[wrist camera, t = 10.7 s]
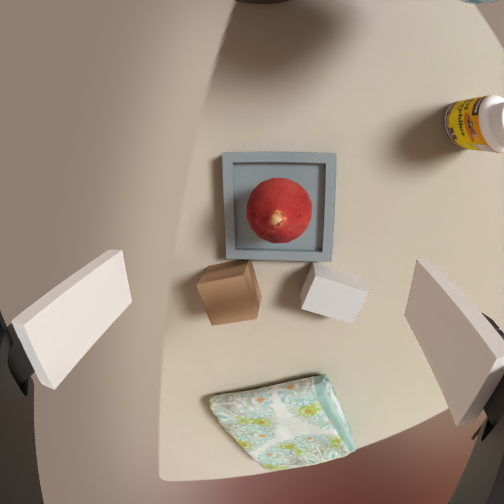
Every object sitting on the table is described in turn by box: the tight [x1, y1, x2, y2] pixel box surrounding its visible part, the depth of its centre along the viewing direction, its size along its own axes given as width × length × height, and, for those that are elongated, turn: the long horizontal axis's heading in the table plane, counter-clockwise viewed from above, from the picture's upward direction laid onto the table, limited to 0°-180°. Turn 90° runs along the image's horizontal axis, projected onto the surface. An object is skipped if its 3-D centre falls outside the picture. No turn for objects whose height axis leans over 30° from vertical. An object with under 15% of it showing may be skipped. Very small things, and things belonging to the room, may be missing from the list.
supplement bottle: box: [445, 95, 504, 153], centre depth 19 cm, size 6×6×10 cm
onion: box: [246, 178, 312, 244], centre depth 26 cm, size 6×6×8 cm
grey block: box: [301, 261, 369, 324], centre depth 31 cm, size 4×6×4 cm, turn 74°
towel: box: [209, 375, 356, 470], centre depth 40 cm, size 18×21×5 cm
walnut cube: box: [196, 259, 262, 325], centre depth 32 cm, size 5×5×5 cm
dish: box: [222, 152, 336, 262], centre depth 29 cm, size 11×11×2 cm
